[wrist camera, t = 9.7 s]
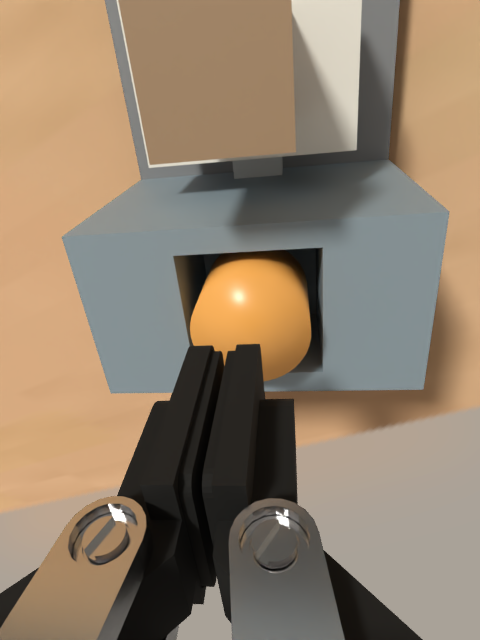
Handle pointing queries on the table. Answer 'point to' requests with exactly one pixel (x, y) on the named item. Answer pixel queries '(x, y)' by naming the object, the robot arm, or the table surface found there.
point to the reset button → (255, 308)
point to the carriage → (243, 77)
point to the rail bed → (272, 246)
